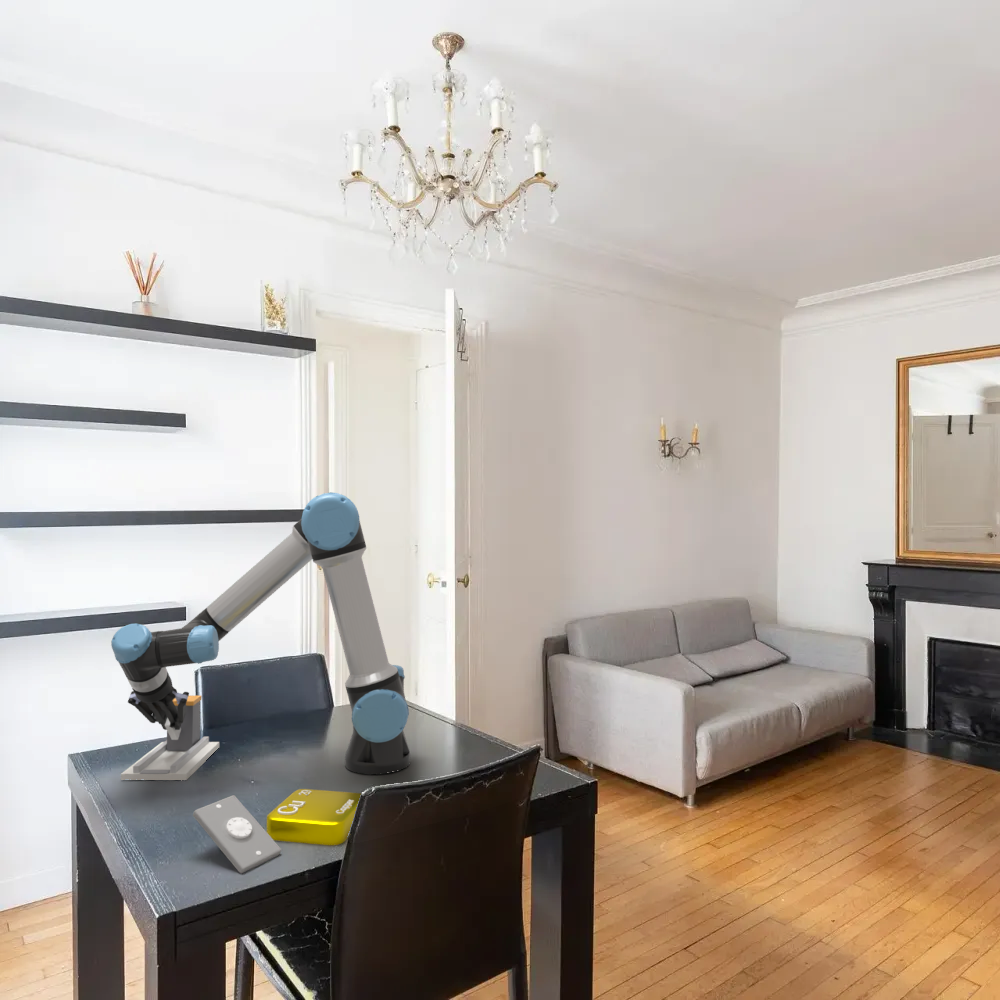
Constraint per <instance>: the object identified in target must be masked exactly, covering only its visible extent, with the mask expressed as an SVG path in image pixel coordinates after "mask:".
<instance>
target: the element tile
mask: <svg viewBox="0 0 1000 1000" xmlns="http://www.w3.org/2000/svg"><path fill="white" fill-rule="evenodd" d="M360 795H361V792H360V793H359V792H348V791H337V790H336V791H335V790H322V789H311V788H310V789H309V788H299V789H297V790H295V791H293V792H292V793H291V794H290V795H289V796H287V797H286V798H285V799H284V800H283V801H281V803H279V804H278V805H277V806H276V807H275V808H274V809H272V811H270V812H269V813H268V814H267V815H266V832H267V833H268V834H269V836H270V837H271V838H272V839H273V840H274V841H275V842H286V843H287V842H288V843H299V844H310V845H320V846H339V845H342V844H343V843H345V842H346V840H348V838H347V836H348V833H349V831H350V827H351V824H352V821H353V818H354V814H355V811H356V807H357V804H358V801H359V798H360Z"/></svg>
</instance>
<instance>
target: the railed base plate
mask: <svg viewBox="0 0 1000 1000" xmlns="http://www.w3.org/2000/svg"><path fill="white" fill-rule="evenodd" d="M218 748H219V749H220V741H210V736H203V737H202V738H200V740H199V741H198V742H197V743H196V744H195V745H194V746H193V747H192V748H190V749H189V750H188V751H167V739H166V740H165V741H161V742H160V743H159V744H158V745H156V746H155V747H154V748H152V749H150V751H148V752H147V753H146V754H144V755H143V756H141V758H140V759H138V760H137V761H136V762H134V763H133V764H132V765H130V766H129V767H128V768H126V769H125V770H124V771H123V772H121V773H120V781H121V780H125V779H129V780H130V779H131V780H136V779H137V780H141V779H144V780H181V781H180V782H183V781H182V780H186V781H187V780H189V778H190V777H191V776H193V774H194V773H196V772H197V770H199V768H200V767H201V766H202V765H203V764H204V763H205V762H207V761H208V760H207V759H208V758H209V757H210V756H211V755H212V754H213V753H214V752H215V751H216V750H217V749H218ZM219 749H218V750H219ZM218 750H217V751H218ZM217 751H216V752H217ZM216 752H215V753H216ZM215 753H214V754H215ZM212 756H213V755H212ZM212 756H211V757H212ZM209 759H210V758H209ZM206 760H207V761H206Z"/></svg>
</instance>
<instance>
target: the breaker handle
mask: <svg viewBox="0 0 1000 1000" xmlns="http://www.w3.org/2000/svg"><path fill="white" fill-rule="evenodd" d="M201 701H202V695H189V696H188V699H187V702H186V714H185V718H184V721H183V723H181V727H180V728H181V732H180V735H179V738H178V740H172V739H171V737H170V735H169V733H168V731H167V730H166V740H167V751H188V750H189V749H190V748H192V747H193V746H194V745H195V744H196V743H197V742H198V741H199V740H201ZM173 703H174V705H175V707H176V709H177V711H178V704H177V701H176V698H174V700H173Z"/></svg>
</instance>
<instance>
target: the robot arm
mask: <svg viewBox="0 0 1000 1000" xmlns="http://www.w3.org/2000/svg"><path fill="white" fill-rule="evenodd" d="M301 515H302V516H301V518H300V519H299V520H298V521H297V522H296V523H295V524H293V525H292V531H291V533H290V534H289V535H288V536H287V537H286V538H284V539H283V540H282V541H280V542H279V544H278V545H276V546H275V547H273V549H271V550H270V551H269V552H268V553H267V554H266V555H265V556H264V557H262V559H260V560H259V561H258V562H256V563H255V565H253V566H252V567H251V568H250V569H249V570H248V571H246V572H245V573H244V574H243V575H242V576H241V577H240V578H239V579H237V580H236V581H235V582H234V583H233V584H232V585H231V586H230V587H228V588H227V589H226V590H225V591H223V592H222V593H221V594H220V595H219V596H218V597H217V598H216V599H215V600H213V601H212V602H211V603H210V604H209V605H208V606H206V608H205V609H202V611H201V612H199V613H198V614H197V615H196V616H195V617H194V618H193V619H191V620H190V621H189V622H188V623H186V624H185V625H184V626H183V627H181V628H176V629H169V630H158V631H151V630H149V628H148V627H147V626H145V625H144V624H140V623H130V624H127V625H125V626H122V627H121V628H120V629H118V630H117V631H116V632H115V633H114V634H113V637H112V639H111V645H110V646H111V649H112V651H113V654H114V658H115V660H116V662H118V664H119V665H120V667H121V669H122V671H123V673H124V676H125V677H126V679H127V681H128V682H129V685H130V687H131V689H132V691H131V692H130V695H129V697H128V701H127V703H128V704H129V705H132V706H134V707H135V708H136V710H138V711H139V712H140V714H142V715H143V716H144V717H145V718H146V720H147V721H149V723H151V724H155V723H158V724H159V725H160V726H161V727H162V729H163V730H164V731H166V732H167V731H168V733H169V735H170V737H171V739H172V740H178V738H179V735H180V732H181V728H180V727H181V723H183V721H184V718H185V714H186V702H187V699H188V696H190V692H188V691H184V692H183V693H181V692H178V691H177V688H175V687H174V686H173V681H172V678H171V676H170V675H169V672H168V670H167V668H168V667H174V666H175V667H176V666H177V667H178V666H183V665H184V666H185V665H193V664H197V665H198V664H202V663H205V662H212V661H214V660H215V659H217V658H218V655H219V650H220V643H219V642H220V641H221V640H222V639H223V638H225V637H226V636H227V635H228V634H229V633H230V632H231V631H232V630H233V629H234V628H236V627H237V626H238V625H239V624H240V623H241V622H243V620H245V618H247V617H248V616H249V615H250V614H251V613H253V611H255V610H256V609H257V608H258V607H260V606H261V605H262V604H263V603H264V602H265V601H266V600H268V599H269V597H271V596H272V595H274V594H275V593H276V592H277V591H278V590H279V589H280V588H281V587H282V586H283V585H285V584H286V583H287V582H288V581H289V580H290V579H292V578H293V577H294V576H295V575H297V573H298V572H300V570H302V569H303V568H304V567H306V565H308V564H309V563H310V562H311V561H312V562H313V563H315V564H316V565H317V566H319V567H321V569H322V573H323V575H324V576H323V577H324V580H325V584H326V588H327V591H328V595H329V598H330V599H329V600H330V603H331V606H332V610H333V615H334V619H335V622H336V625H337V630H338V634H339V637H340V641H341V645H342V649H343V653H344V657H345V661H346V665H347V668H348V672H349V675H348V677H347V679H346V681H345V682H344V685H345V689H346V693H347V697H348V701H349V706H350V708H351V723H352V725H353V726H352V735H351V737H350V741H349V743H348V745H347V748H346V753H345V757H344V766H345V769H347V770H349V771H350V772H352V773H356V772H358V773H357V774H360V773H365V774H364V775H371V774H376V775H381V774H380V773H387V772H392V771H397V770H400V771H402V770H401V769H403V768H405V767H406V766H408V765H409V766H410V764H411V751H410V747H409V745H408V740H407V738H406V735H405V731H404V728H405V727H406V725H407V723H408V719H409V714H410V712H409V711H410V710H409V706H408V705H409V704H408V703H407V700H406V696H405V689H404V688H405V687H404V685H405V684H404V683H405V678H406V676H405V672H404V668H403V667H402V666H401V665H397V664H391V663H390V662H389V659H388V655H387V650H386V647H385V642H384V639H383V635H382V632H381V626H380V623H379V620H378V616H377V611H376V607H375V604H374V600H373V597H372V593H371V589H370V586H369V581H368V577H367V573H366V569H365V566H364V561H363V555H364V553H365V551H366V550H367V545H366V541H365V536H364V534H363V529H362V525H361V520H360V514H359V511H358V508H357V506H356V504H355V503H354V502H353V501H352V500H351V499H350V498H348V497H347V496H346V495H343V494H342V493H341V494H340V493H338V492H326V493H325V492H323V493H322V494H319V495H317V496H314V497H313V498H312V499H310V500H309V501H308V502H307V504H306V505H305V507H304V508H303V511H302V514H301ZM174 698H176V701H177V704H178V711H177V709H176V707H175V705H174V703H173V700H174ZM409 763H410V764H409ZM409 766H408V767H409ZM406 768H407V767H406ZM406 768H405V769H406ZM403 770H404V769H403ZM397 772H398V771H397Z"/></svg>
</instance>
